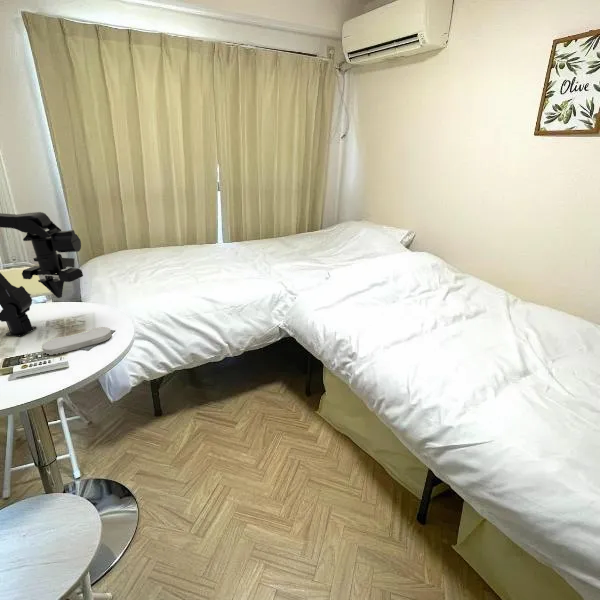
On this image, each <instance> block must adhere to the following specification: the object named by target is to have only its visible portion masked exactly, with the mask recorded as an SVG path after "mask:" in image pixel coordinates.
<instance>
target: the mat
mask: <svg viewBox="0 0 600 600" xmlns="http://www.w3.org/2000/svg"><path fill="white" fill-rule="evenodd" d="M110 330H111V334H114V333H115V332H116V329H110ZM98 344H99V343H97V344H93V345H90V346H86V347H82V348H79V350H81V351H90V350H91V349H93V348H94V347H95V346H97V345H98ZM79 350H78V351H79Z"/></svg>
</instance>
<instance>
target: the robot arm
mask: <svg viewBox="0 0 600 600" xmlns="http://www.w3.org/2000/svg"><path fill="white" fill-rule="evenodd" d="M0 228H3V229H4V228H5V229H14V230H17V231H20V233H25V234H26V235H25V237H23V239H22V241H23V242H31V245H32V249H33V251H34V253H35V257H34V258H33V261H34V262H36V263H38V265H33V266H30V267H28V268H25V269H23V270H22V272H21V276H22V278H23V280H31V279H33V276H38V278H39V279H38V280H37V281H38V283H41V284H42V285H43V286H45V287H46V289H48V290H49V291H50V292H51V293H52V294H53V295H54V296H55V297H56V298H57V299H61V298H62V297H63V290H64V283H71V282H74V281H75V280H78V279H79V278H80V279H81V278H82V277H84V274H83V270H82V269H81V268H79V267H77V268H76V267H75V264H76V263H75V261H76V260H75V259H76V258H74V257H73V258H70V257H63V256H62V254H61V253H76V252H77V253H79V252H80V251H81V249H82V241H81V238H80V237H79V235H78V234H76V231H75V230H73V229H72V230H71V229H70V230H63V231H62V229H61V228H60V227H58V226H57V225H56V224H55V223H54V221H52V220H51V219H50V217H49V216H48V215H47V214H46V213H44V212H41V211H38V212H37V211H36V212H26V213H20V214H18V213H17V214H13V213H1V212H0ZM31 296H32V294H31V293H29V292H28V291H27V290H26V289H25V287H24V286H22V285H21V286H19V287H18V286H15V285H14V284H13V285H12V283H11V282H10V281H9V280H7V278H6V277H5V276H4V275H3V274H2V273H1V272H0V307H1V308H2V310H1V311H0V322H1V323H3V322H6V326H7V328H8V330H9V331H8V332H6V333H5V336H10V337H11V336H12V337H18V338H19V337H24V336H26V335H27V334H28V333H31V332H32V331H34V330H37V326H32V322H31V319H30V318H29V315H28V314H27V312H29V311H30V309H31V306H32V304H33V298H32V297H31Z"/></svg>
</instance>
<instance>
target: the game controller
mask: <svg viewBox="0 0 600 600" xmlns="http://www.w3.org/2000/svg"><path fill="white" fill-rule="evenodd" d="M111 330H112V329H111V328H110V327H108V326H98V327H94V328H91V329H89V330H87V331H83V332H79V333H75V334H71V335H66V336H59V337H54V338H51V339H50V340H47V341H45V342H44V343H43V344H42V345H41V347H42V348H41V349H42V351H43V353H44V354H45V353H46V354H45V355H47V354H49V355H48V356H54V355H53V354H56V355H59V354H58V353H60V354H63V352H64V353H68V352H71V351H75V350H78V349H79V348H82V347H86V346H90V345H93V344H97V343H98V344H99V343H103V342H105V341H108V340H109V339H110V338H111V337H112V336H113V335H112V334H113V333H112V334H111ZM98 344H97V345H98Z"/></svg>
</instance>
